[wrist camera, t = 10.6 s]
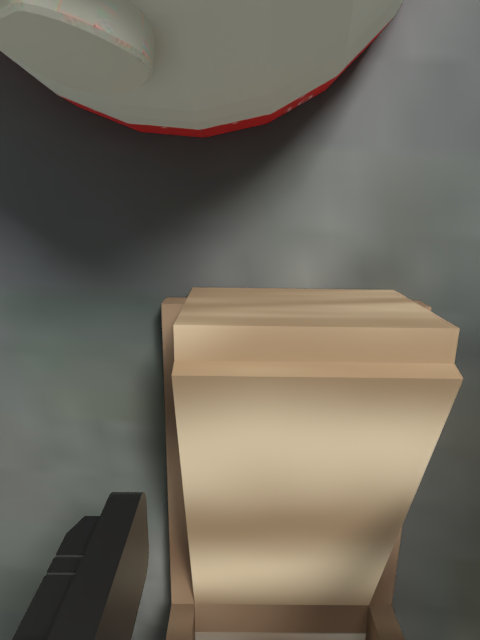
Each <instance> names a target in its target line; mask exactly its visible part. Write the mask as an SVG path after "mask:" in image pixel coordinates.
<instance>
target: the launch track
mask: <svg viewBox="0 0 480 640" xmlns="http://www.w3.org/2000/svg"><path fill="white" fill-rule="evenodd" d="M161 309H162V339H163V368H164V397H165V426H166V455H167V484H168V513H169V543H170V572H171V601H172V605H171V611H170V617H169V623H168V629H167V635H166V640H405V639H404V637H403V634H402V631H401V629H400V626H399V623H398V621H397V618H396V615H395V613H394V610H393V607H392V600H393V592H394V585H395V577H396V570H397V562H398V555H399V547H400V540H401V532H402V525H403V522H404V520H405V518H406V515H407V513H408V510H409V508H410V506H411V503H412V501H413V498H414V496H415V494H416V491H417V489H418V486H419V484H420V482H421V479H422V477H423V474H424V472H425V470H426V467H427V465H428V462H429V460H430V458H431V455H432V453H433V451H434V448H435V446H436V443H437V441H438V439H439V436H440V434H441V431H442V429H443V427H444V424H445V422H446V419H447V417H448V415H449V412H450V410H451V407H452V405H453V403H454V400H455V398H456V395H457V393H458V391H459V388H460V386H461V384H462V381H463V377H462V376H461V374H460V372H459V371H458V369H457V367H456V366H455V364H454V363H455V356H456V350H457V343H458V336H459V330H460V328H458V327H456V326H455V325H453V324H451V323H449V322H448V321H446V320H444V319H443V318H441V317H439V316H437V315H436V314H434V313H432V312H431V307H430V306H428V305H426V304H425V303H423V302H421V301H419V300H410V299H408V298H407V297H405V296H403V295H402V294H400V293H398V292H396V291H395V290H359V289H281V288H203V287H193V288H192V290H191V292H190V294H189V296H188V297H166V298H165V300H164V301H163V302H162V304H161Z"/></svg>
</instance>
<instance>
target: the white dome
mask: <svg viewBox="0 0 480 640" xmlns="http://www.w3.org/2000/svg"><path fill="white" fill-rule="evenodd" d="M403 1H404V0H0V51H1V52H3V53H4V54H5V55H7V56H8V57H9V58H10V59H12V60H13V61H14V62H16V63H17V64H18V65H19V66H21V67H22V68H23V69H25V70H26V71H27V72H29V73H30V74H31V75H32V76H34V77H35V78H36V79H38V80H39V81H40V82H41V83H43V84H44V85H45V86H47V87H48V88H49V89H50V90H52V91H53V92H54V93H56V94H57V95H58V96H60V97H62V98H64V99H65V100H67V101H69V102H71V103H72V104H74V105H76V106H78V107H80V108H82V109H85V110H87V111H90V112H92V113H95V114H97V115H100V116H102V117H104V118H107V119H109V120H112V121H114V122H117V123H119V124H122V125H124V126H127V127H129V128H132V129H134V130H137V131H139V132H146V133H157V134H169V135H180V136H192V137H203V138H205V137H209V136H214V135H218V134H223V133H227V132H232V131H236V130H241V129H245V128H250V127H254V126H259V125H263V124H267V123H269V122H271V121H273V120H274V119H276V118H278V117H280V116H281V115H283V114H285V113H287V112H288V111H290V110H292V109H294V108H295V107H297V106H299V105H301V104H302V103H304V102H306V101H308V100H309V99H311V98H313V97H315V96H316V95H318V94H320V93H321V92H323V91H325V90H326V89H327V88H328V87H329V86H330V85H331V84H332V83H333V82H334V81H335V80H336V79H337V78H338V77H339V76H340V75H341V74H342V73H343V72H344V71H345V70H346V69H347V68H348V66H349V65H350V64H351V63H352V62H353V61H354V60H355V59H356V58H357V57H358V56H359V55H360V54H361V53H362V52H363V51H364V50H365V49H366V48H367V47H368V46H369V45H370V44H371V43H372V42H373V41H374V40H375V39H376V38H377V36H378V35H379V34H380V33H381V32H382V31H383V29H384V28H385V27H386V26H387V25H388V24H389V22H390V21H391V20H392V19H393V18H394V17H395V15H396V13H397V12H398V10H399V8H400V6H401V5H402V3H403Z"/></svg>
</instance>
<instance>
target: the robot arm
mask: <svg viewBox="0 0 480 640" xmlns="http://www.w3.org/2000/svg"><path fill="white" fill-rule="evenodd" d="M148 555H149V545H148V525H147V505H146V495H145V493H144V492H112V493H111V494H110V495H109V497H108V500H107V502H106V504H105V507H104V509H103V511H102V514H101V516H85V517H83V518H82V519H81V520H80V521H79V522H78V523H77V524H76V525H75V526H74V527H73V528H72V529H71V530H70V531H69V532H68V533H67V534H66V536H65V537H64V539H63V541H62V543H61V545H60V547H59V549H58V551H57V553H56V558H54V559H53V561H52V563H51V565H50V567H49V569H48V571H47V575H46V576H45V577H44V579H43V580H42V582H41V584H40V586H39V588H38V590H37V592H36V594H35V596H34V598H33V600H32V602H31V604H30V606H29V608H28V610H27V612H26V614H25V616H24V618H23V620H22V621H21V623H20V625H19V627H18V629H17V631H16V633H15V635H14V637H13V639H12V640H131V637H132V633H133V629H134V625H135V621H136V616H137V612H138V608H139V604H140V600H141V596H142V592H143V588H144V583H145V579H146V574H147V567H148Z"/></svg>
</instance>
